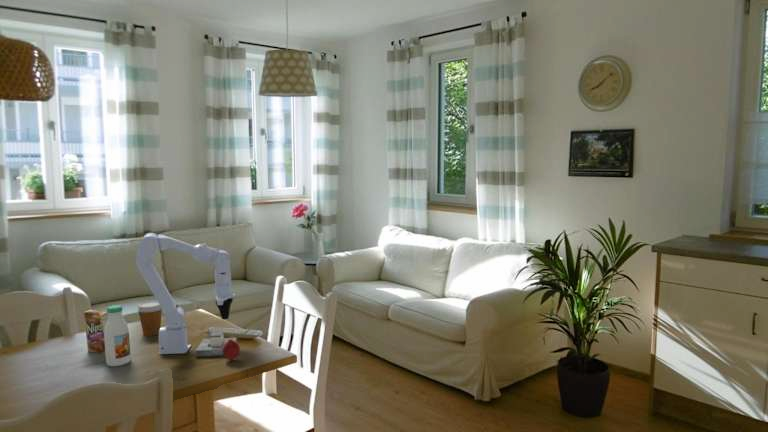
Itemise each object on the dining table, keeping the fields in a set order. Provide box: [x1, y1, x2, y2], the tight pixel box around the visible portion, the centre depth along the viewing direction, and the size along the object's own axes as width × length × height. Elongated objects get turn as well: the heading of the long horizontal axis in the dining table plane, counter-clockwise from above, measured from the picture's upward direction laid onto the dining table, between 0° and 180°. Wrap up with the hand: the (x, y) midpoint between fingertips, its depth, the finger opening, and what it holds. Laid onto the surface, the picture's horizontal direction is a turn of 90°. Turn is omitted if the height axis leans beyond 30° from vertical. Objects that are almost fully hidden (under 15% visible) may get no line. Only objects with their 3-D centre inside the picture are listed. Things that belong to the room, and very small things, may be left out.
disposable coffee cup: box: [136, 300, 163, 337], centre depth 223 cm, size 10×10×12 cm
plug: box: [209, 331, 224, 347], centre depth 203 cm, size 4×4×6 cm
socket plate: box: [194, 337, 237, 358], centre depth 203 cm, size 12×12×2 cm
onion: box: [222, 337, 241, 362], centre depth 193 cm, size 6×6×8 cm
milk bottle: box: [104, 304, 132, 367], centre depth 192 cm, size 8×8×20 cm
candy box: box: [83, 308, 108, 355], centre depth 203 cm, size 9×4×15 cm, turn 69°
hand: (225, 318), depth 208 cm, fingers closed
